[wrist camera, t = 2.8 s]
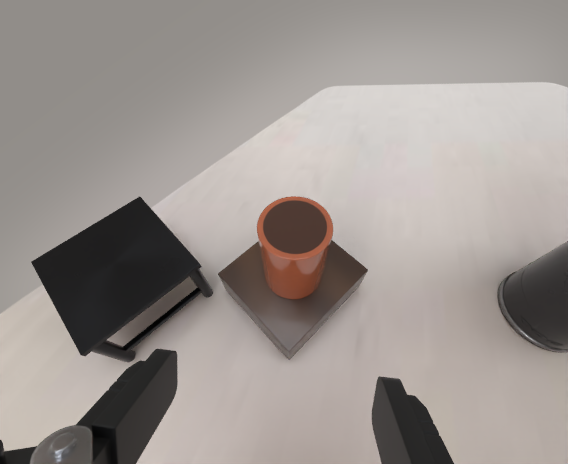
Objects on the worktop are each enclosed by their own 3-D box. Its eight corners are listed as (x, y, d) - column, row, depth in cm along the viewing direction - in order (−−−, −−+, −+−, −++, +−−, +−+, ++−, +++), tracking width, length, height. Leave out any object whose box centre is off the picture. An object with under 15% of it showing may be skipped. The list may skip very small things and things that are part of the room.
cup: (293, 236, 33) (295, 184, 25) (333, 272, 31) (349, 226, 23) (252, 271, 31) (241, 224, 23) (293, 312, 28) (294, 275, 21)
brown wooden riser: (295, 232, 39) (296, 210, 35) (358, 286, 35) (368, 269, 31) (226, 290, 35) (217, 273, 31) (288, 360, 31) (289, 352, 26)
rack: (165, 233, 40) (139, 196, 33) (217, 292, 35) (200, 264, 28) (80, 290, 35) (30, 261, 28) (126, 367, 30) (80, 355, 24)
